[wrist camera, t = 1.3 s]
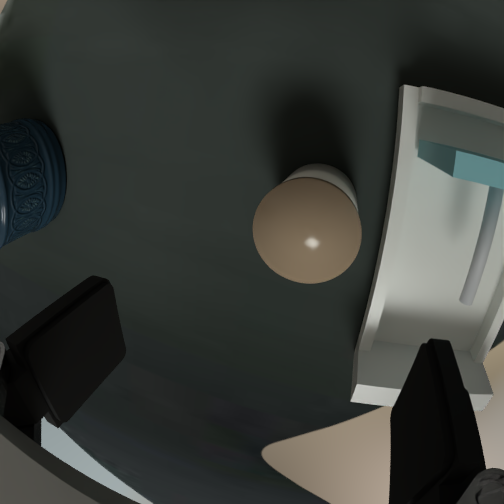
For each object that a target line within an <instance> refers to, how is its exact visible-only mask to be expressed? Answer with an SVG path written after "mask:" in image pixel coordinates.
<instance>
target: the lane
mask: <svg viewBox="0 0 504 504" xmlns="http://www.w3.org/2000/svg"><path fill="white" fill-rule="evenodd" d="M419 139H420V140H425V141H430V142H435V143H439V144H444V145H448V146H452V147H456V148H461V149H465V150H469V151H472V152H476V153H480V154H484V155H487V156H491V157H494V158H498V159H501V160H504V108H501V107H498V106H495V105H492V104H489V103H486V102H482V101H479V100H476V99H472V98H469V97H465V96H462V95H458V94H454V93H450V92H447V91H442V90H438V89H434V88H430V87H425V86H421V87H414V86H409V85H403V86H401V87H399V103H398V117H397V130H396V140H395V150H394V159H393V167H392V175H391V182H390V190H389V196H388V203H387V209H386V215H385V221H384V227H383V232H382V238H381V243H380V248H379V253H378V258H377V263H376V268H375V272H374V277H373V281H372V286H371V290H370V294H369V299H368V303H367V307H366V311H365V315H364V318H363V322H362V326H361V330H360V333H359V337H358V341H357V344H356V348H355V351H354V363H353V377H352V390H351V401H350V402H358V403H366V404H374V405H383V406H394V404H395V402H396V400H397V398H398V396H399V394H400V392H401V389H402V387H403V385H404V383H405V381H406V379H407V376H408V374H409V372H410V369H411V367H412V365H413V363H414V360H415V358H416V355H417V353H418V350H419V348H420V346H421V344H422V343H427V342H428V340H429V339H431V338H433V339H443V340H449V341H450V343H451V345H452V348H453V351H454V355H455V358H456V361H457V364H458V367H459V370H460V374H461V377H462V380H463V384H464V387H465V389H466V390H468V393H469V395H470V399H471V402H472V406H473V410H474V411H483V409H484V408H485V407H486V405H487V404H488V402H489V401H490V399H491V398H492V396H493V392H492V389H491V386H490V383H489V380H488V377H487V374H486V371H485V368H484V366H483V361H484V359H485V357H486V356H487V354H488V352H489V350H490V348H491V346H492V344H493V342H494V339H495V337H496V335H497V333H498V331H499V329H500V327H501V324H502V322H503V320H504V193H503V198H502V203H501V208H500V212H499V217H498V221H497V225H496V229H495V233H494V237H493V241H492V244H491V248H490V252H489V255H488V258H487V262H486V265H485V268H484V271H483V274H482V277H481V280H480V283H479V286H478V289H477V292H476V295H475V298H474V300H473V303H472V305H470V306H468V305H464V304H462V303H461V302H460V301H459V298H460V295H461V293H462V290H463V287H464V284H465V281H466V278H467V274H468V271H469V268H470V265H471V261H472V258H473V254H474V251H475V247H476V243H477V240H478V236H479V232H480V228H481V224H482V219H483V215H484V210H485V206H486V201H487V196H488V190H489V186H488V185H484V184H480V183H476V182H472V181H467V180H463V179H459V178H454V177H452V176H450V175H448V174H447V173H445V172H443V171H442V170H440V169H438V168H436V167H435V166H433V165H431V164H430V163H428V162H426V161H424V160H422V159H421V158H419V157H417V156H418V147H419Z"/></svg>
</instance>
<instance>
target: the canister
mask: <svg viewBox="0 0 504 504" xmlns="http://www.w3.org/2000/svg"><path fill="white" fill-rule="evenodd" d="M65 191H66V171H65V163H64V158H63V154H62V151H61V148H60V145H59V143H58V140H57V138H56V136H55V135H54V133H53V132H52V130H51V129H50V128H49V127H48V126H47V125H46V124H45V123H43V122H42V121H39V120H35V119H27V118H24V119H17V120H14V121H11V122H9V123H4V124H0V249H1V248H2V247H3V246H5V245H6V244H8V243H10V242H12V241H14V240H16V239H18V238H20V237H22V236H24V235H26V234H28V233H30V232H35V231H38V230H39V229H42V228H44V227H45V226H46V225H48V224H49V223H50V222H51V221H52V220H54V219H55V218H56V216H57V215H58V214H59V212H60V210H61V208H62V205H63V202H64V197H65Z"/></svg>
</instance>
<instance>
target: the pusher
mask: <svg viewBox="0 0 504 504" xmlns="http://www.w3.org/2000/svg"><path fill="white" fill-rule="evenodd" d="M417 157H419V158H421V159H422V160H424V161H426V162H428V163H430V164H431V165H433V166H435V167H436V168H438V169H440V170H442V171H443V172H445V173H447V174H448V175H450V176H452V177H454V178H459V179H463V180H467V181H472V182H476V183H480V184H484V185H488V186H489V190H488V196H487V201H486V206H485V210H484V215H483V219H482V224H481V228H480V232H479V236H478V240H477V243H476V247H475V251H474V254H473V258H472V261H471V265H470V268H469V271H468V274H467V278H466V281H465V284H464V287H463V290H462V293H461V295H460V298H459V301H460V302H461V303H462V304H464V305H468V306H470V305H472V303H473V300H474V298H475V295H476V292H477V289H478V286H479V283H480V280H481V277H482V274H483V271H484V268H485V265H486V262H487V258H488V255H489V252H490V248H491V244H492V241H493V237H494V233H495V229H496V225H497V221H498V217H499V212H500V208H501V203H502V198H503V193H504V160H501V159H498V158H494V157H491V156H487V155H484V154H480V153H476V152H472V151H469V150H465V149H461V148H456V147H452V146H448V145H444V144H439V143H435V142H430V141H425V140H420V139H419V147H418V156H417Z"/></svg>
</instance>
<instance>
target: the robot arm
mask: <svg viewBox="0 0 504 504" xmlns="http://www.w3.org/2000/svg"><path fill="white" fill-rule="evenodd" d="M6 341H7V344H8V346H9V348H10V349H8V350H7V351H6V349H5V346H4V344H3V343H2V342H1V341H0V504H140V503H138V502H135V501H133V500H131V499H129V498H127V497H125V496H123V495H121V494H119V493H117V492H115V491H113V490H111V489H109V488H107V487H106V486H104V485H102V484H100V483H98V482H96V481H95V480H93V479H91V478H89V477H88V476H86V475H84V474H83V473H81V472H79V471H78V470H76V469H74V468H73V467H71V466H70V465H68V464H66V463H65V462H63V461H62V460H60V459H59V458H57V457H56V456H54V455H53V454H51V453H50V452H48V451H47V450H45V449H44V448H43V447H41V419H42V418H43V417H45V418H46V420H47V421H48V422H49V423H51V424H52V425H54V426H55V427H57V428H59V427H60V426H61V424H62V423H63V422H67V421H68V420H69V419H70V418H71V417H72V416H73V415H74V414H75V412H76V411H77V410H78V409H79V408H80V407H81V406H82V404H83V403H84V402H85V401H86V400H87V399H88V398H89V397H90V395H91V394H92V393H93V392H94V391H95V390H96V389H97V388H98V386H99V385H100V384H101V383H102V382H103V381H104V380H105V379H106V377H107V376H108V375H109V374H110V373H111V372H112V371H113V370H114V368H115V367H116V366H117V365H118V364H119V363H120V362H121V361H122V360H123V358H124V356H125V353H126V347H125V343H124V338H123V334H122V329H121V325H120V320H119V315H118V310H117V305H116V300H115V294H114V289H113V286H112V285H111V284H110V282H109V280H108V279H105V278H102V277H98V276H90V277H89V278H87V279H86V280H84V281H83V282H81V283H80V284H79V285H77V286H76V287H74V288H73V289H72V290H70V291H69V292H67V293H66V294H65V295H63V296H62V297H60V298H59V299H58V300H56V301H55V302H54V303H52V304H51V305H49V306H48V307H47V308H45V309H44V310H43V311H41V312H40V313H39V314H37V315H36V316H35V317H33V318H32V319H31V320H29V321H28V322H27V323H25V324H24V325H23V326H21V327H20V328H19V329H18V330H16V331H15V332H14V333H12V334H11V335H10V336H9V337H7V338H6ZM390 423H391V425H390V426H391V463H390V464H391V465H390V491H389V504H504V470H502V469H498V468H490V469H486V466H485V460H484V455H483V449H482V445H481V440H480V435H479V431H478V427H477V423H476V418H475V414H474V410H473V406H472V402H471V399H470V395H469V393H468V390H466V389H465V387H464V384H463V380H462V377H461V374H460V370H459V367H458V364H457V361H456V358H455V355H454V351H453V348H452V345H451V343H450V341H449V340H443V339H433V338H431V339H429V340H428V342H427V343H422V344H421V346H420V348H419V350H418V353H417V355H416V358H415V360H414V363H413V365H412V367H411V369H410V372H409V374H408V376H407V379H406V381H405V383H404V385H403V387H402V389H401V392H400V394H399V396H398V398H397V400H396V402H395V404H394V406H393V408H392V411H391V417H390Z"/></svg>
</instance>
